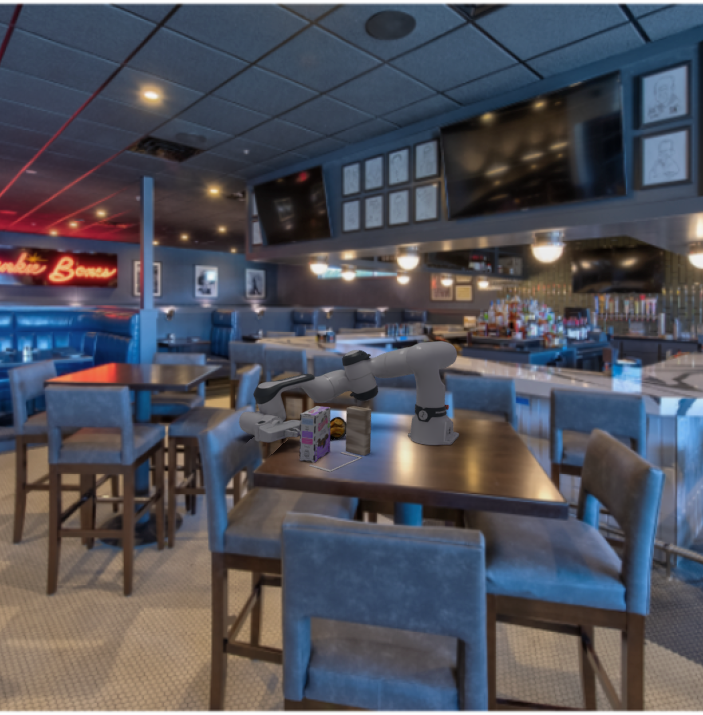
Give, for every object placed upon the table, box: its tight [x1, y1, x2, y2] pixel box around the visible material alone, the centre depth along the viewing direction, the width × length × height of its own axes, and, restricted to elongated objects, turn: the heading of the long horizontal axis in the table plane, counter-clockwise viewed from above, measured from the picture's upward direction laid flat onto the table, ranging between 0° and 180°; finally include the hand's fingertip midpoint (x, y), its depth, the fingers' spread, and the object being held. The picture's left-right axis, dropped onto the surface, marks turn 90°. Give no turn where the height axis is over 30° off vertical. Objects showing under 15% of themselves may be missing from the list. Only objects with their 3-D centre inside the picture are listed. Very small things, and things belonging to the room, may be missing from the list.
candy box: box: [299, 405, 331, 463], centre depth 162 cm, size 14×6×16 cm, turn 160°
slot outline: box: [308, 451, 364, 473], centre depth 158 cm, size 18×9×1 cm, turn 143°
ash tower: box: [345, 405, 372, 457], centre depth 167 cm, size 4×8×16 cm, turn 53°
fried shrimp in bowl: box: [330, 416, 346, 442], centre depth 182 cm, size 9×11×18 cm
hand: (299, 434), depth 167 cm, fingers closed
